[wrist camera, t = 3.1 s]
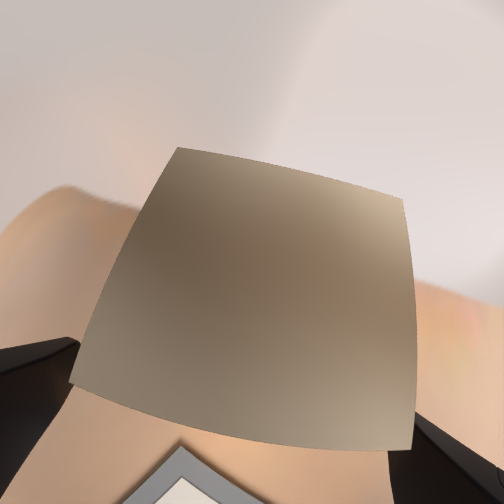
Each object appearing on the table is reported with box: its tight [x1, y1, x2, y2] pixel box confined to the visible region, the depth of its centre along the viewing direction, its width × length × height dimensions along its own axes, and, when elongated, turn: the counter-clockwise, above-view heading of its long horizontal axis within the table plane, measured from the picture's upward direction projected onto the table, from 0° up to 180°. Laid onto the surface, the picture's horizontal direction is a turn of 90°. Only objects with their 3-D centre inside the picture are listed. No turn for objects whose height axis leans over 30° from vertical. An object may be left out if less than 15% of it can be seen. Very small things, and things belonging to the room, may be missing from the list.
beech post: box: [69, 147, 417, 451], centre depth 10 cm, size 5×5×13 cm
